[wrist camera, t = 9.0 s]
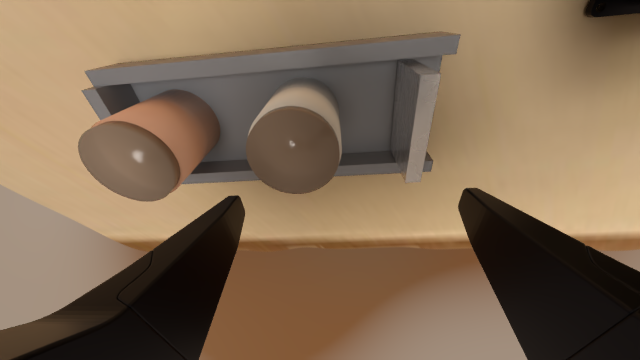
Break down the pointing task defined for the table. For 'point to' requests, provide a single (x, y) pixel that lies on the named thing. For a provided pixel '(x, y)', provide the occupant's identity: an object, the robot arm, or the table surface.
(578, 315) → the robot arm
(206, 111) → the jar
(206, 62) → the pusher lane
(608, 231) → the table surface
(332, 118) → the cream jar
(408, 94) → the plate
